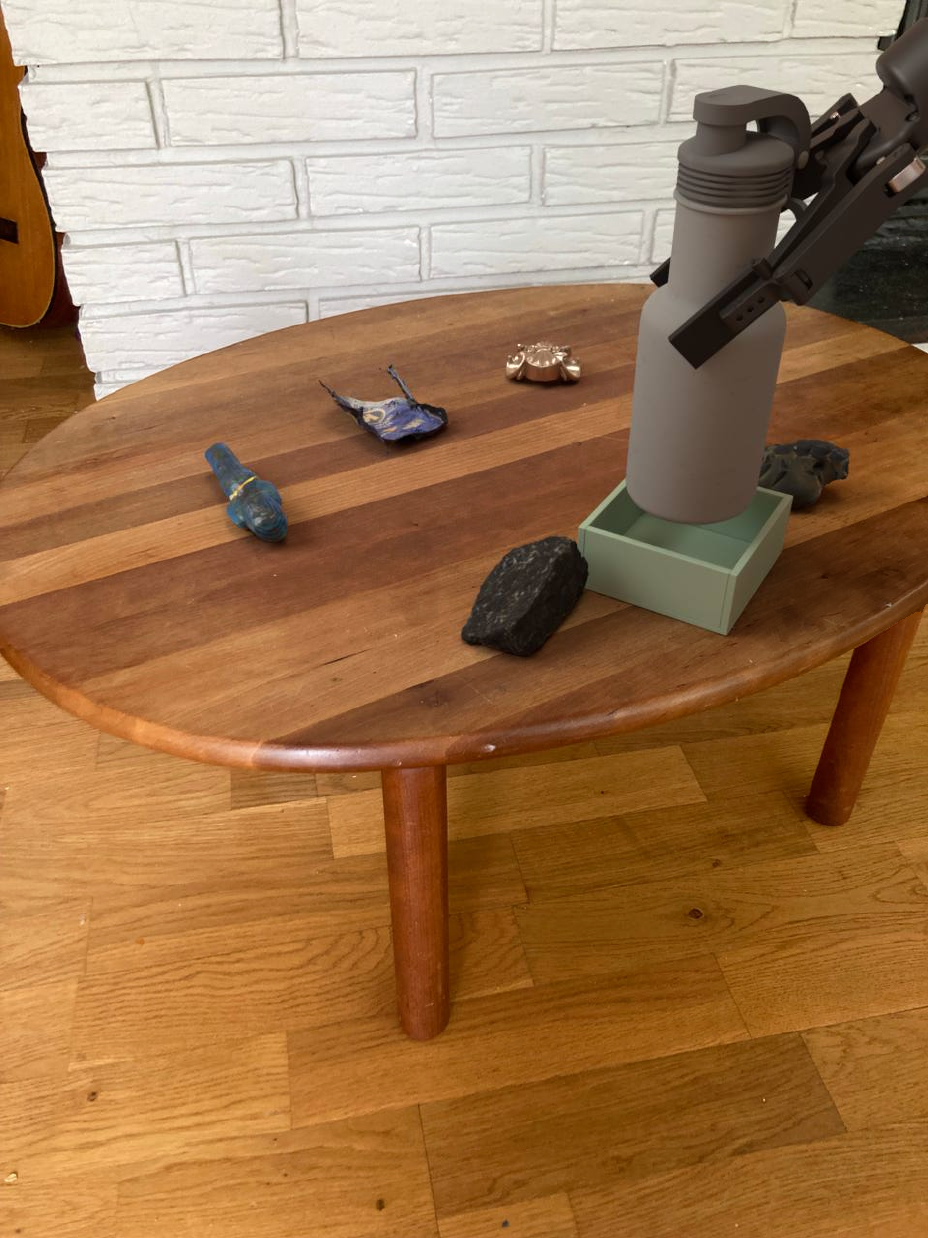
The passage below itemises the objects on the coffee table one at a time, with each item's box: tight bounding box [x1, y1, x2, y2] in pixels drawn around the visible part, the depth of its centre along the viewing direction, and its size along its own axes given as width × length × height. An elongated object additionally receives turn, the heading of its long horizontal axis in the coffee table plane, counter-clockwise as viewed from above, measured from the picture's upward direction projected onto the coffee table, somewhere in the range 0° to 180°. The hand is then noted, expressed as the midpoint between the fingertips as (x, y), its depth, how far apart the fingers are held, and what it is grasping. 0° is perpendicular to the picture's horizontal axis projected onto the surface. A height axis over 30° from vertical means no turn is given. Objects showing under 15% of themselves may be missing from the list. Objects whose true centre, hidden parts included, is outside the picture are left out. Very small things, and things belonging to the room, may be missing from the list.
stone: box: [758, 439, 851, 509], centre depth 91 cm, size 7×13×5 cm, turn 85°
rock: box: [460, 535, 589, 657], centre depth 78 cm, size 7×10×6 cm
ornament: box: [505, 340, 581, 382], centre depth 111 cm, size 8×7×4 cm
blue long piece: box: [204, 442, 289, 543], centre depth 91 cm, size 5×4×15 cm
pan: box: [576, 477, 793, 637], centre depth 82 cm, size 13×13×6 cm
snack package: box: [318, 363, 449, 454], centre depth 102 cm, size 12×6×12 cm
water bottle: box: [625, 84, 812, 525], centre depth 71 cm, size 10×10×28 cm
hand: (671, 320), depth 71 cm, fingers closed on water bottle, 10 cm apart
